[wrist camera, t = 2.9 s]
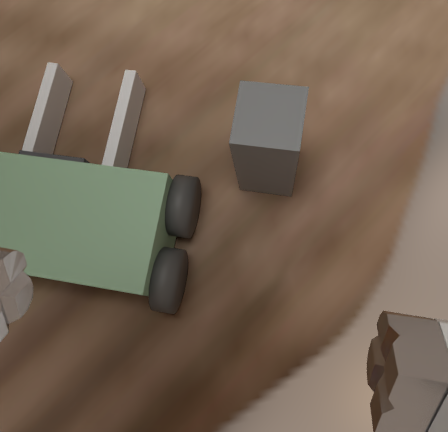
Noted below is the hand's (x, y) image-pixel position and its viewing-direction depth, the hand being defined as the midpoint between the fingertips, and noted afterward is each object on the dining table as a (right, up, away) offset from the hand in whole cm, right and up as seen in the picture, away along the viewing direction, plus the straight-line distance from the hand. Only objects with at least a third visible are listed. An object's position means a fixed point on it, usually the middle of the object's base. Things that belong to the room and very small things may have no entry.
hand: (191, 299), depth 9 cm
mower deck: (-13, +5, +29) cm, 31 cm away
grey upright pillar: (+5, +6, +27) cm, 28 cm away
